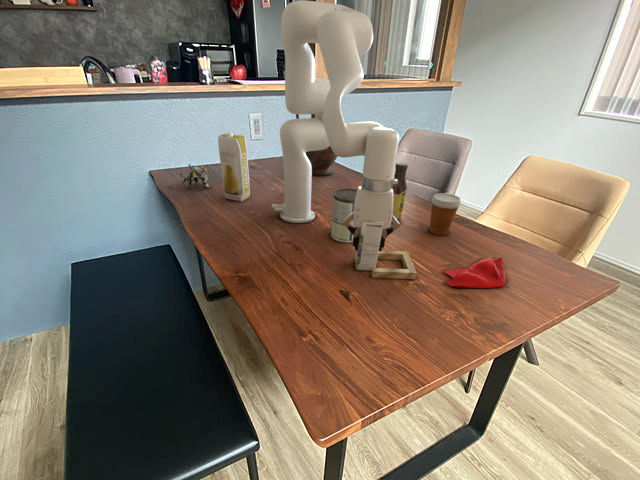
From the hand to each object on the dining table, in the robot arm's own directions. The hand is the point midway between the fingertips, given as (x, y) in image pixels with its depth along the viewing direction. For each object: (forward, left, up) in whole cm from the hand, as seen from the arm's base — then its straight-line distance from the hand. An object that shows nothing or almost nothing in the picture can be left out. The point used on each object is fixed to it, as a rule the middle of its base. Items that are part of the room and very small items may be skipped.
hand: (367, 248), depth 102 cm
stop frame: (+7, 0, -6) cm, 9 cm away
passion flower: (-66, +62, -6) cm, 90 cm away
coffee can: (-5, +20, -6) cm, 21 cm away
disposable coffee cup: (+28, +27, -6) cm, 40 cm away
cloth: (+33, -3, -6) cm, 34 cm away
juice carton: (-47, +52, -6) cm, 70 cm away
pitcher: (-16, +91, -6) cm, 93 cm away
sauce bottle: (+13, +35, -6) cm, 38 cm away
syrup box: (0, 0, -6) cm, 6 cm away
